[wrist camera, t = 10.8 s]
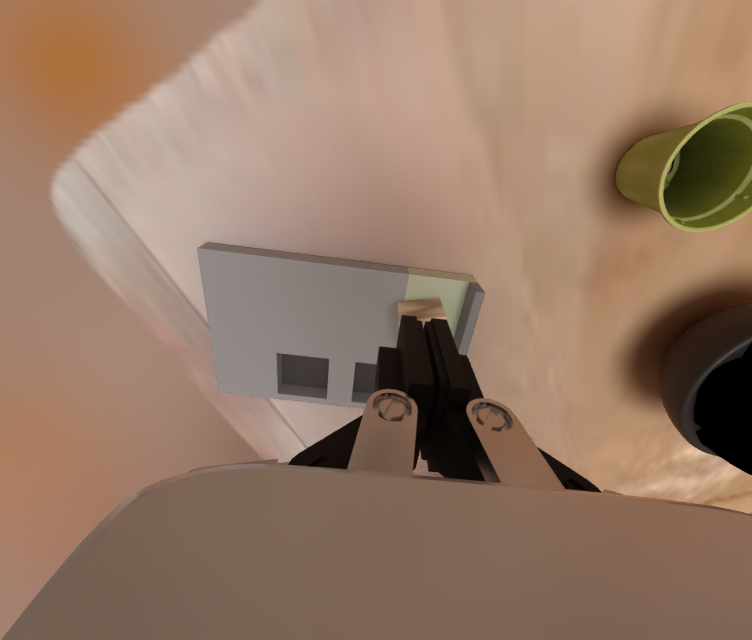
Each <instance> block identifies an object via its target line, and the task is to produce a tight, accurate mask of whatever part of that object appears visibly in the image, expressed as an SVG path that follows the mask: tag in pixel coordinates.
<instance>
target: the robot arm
mask: <svg viewBox="0 0 752 640" xmlns="http://www.w3.org/2000/svg"><path fill="white" fill-rule="evenodd" d="M420 450H421V458H422V460H427V464H428V471H429V472H439V473H440V474H441V475H442V476H444V478H441V477H430V476H418V475H412V474H413V470H414V469H415V468H416V464H417V460H418V456H419V452H420ZM1 640H752V515H750V514H747V513H743V512H740V511H735V510H730V509H725V508H720V507H715V506H709V505H702V504H695V503H687V502H680V501H673V500H665V499H656V498H646V497H637V496H628V495H623V494H620V493H616V492H613V491H609V490H606V489H604V491H603V492H601V491H600V490H599V489H598V488H597V487H596V486H595V485H593V484H592V483H591V482H590V481H588V480H587V479H585V478H584V477H582V476H581V475H579V474H578V473H576V472H575V471H573V470H572V469H570V468H568V467H567V466H565V465H564V464H562V463H561V462H559V461H558V460H556V459H555V458H553V457H552V456H550V455H549V454H547V453H546V452H544V451H542V450H541V449H539V448H538V447H536V445H535V444H534V442H533V441H532V439H531V438H530V436H529V435H528V433H527V432H526V430H525V429H524V427H523V426H522V425H521V423H520V422H519V420H518V419H517V417H516V416H515V415H514V413H513V412H512V411H511V410H510V409H509V408H507V407H506V406H505V405H503V404H501V403H499V402H497V401H494V400H490V399H484V397H483V395H482V392H481V390H480V387H479V385H478V382H477V380H476V377H475V374H474V372H473V369H472V367H471V364H470V362H469V359H468V357H467V356H466V355H461V354H459V352H458V350H457V347H456V344H455V341H454V338H453V336H452V333H451V330H450V327H449V325H448V322H447V320H446V319H437V318H431V320H430V321H425V324H424V329H423V324H422V321H420V320H417V317H416V316H408V315H402V316H401V320H400V327H399V333H398V339H397V345H396V348H392V347H383V346H379V350H378V357H377V365H376V374H375V388H374V393H373V394H372V395H371V396H370V397H369V399H368V401H367V404H366V407H365V410H364V414H363V415H362V416H360V417H358V418H357V419H355V420H353V421H352V422H350V423H348V424H347V425H345V426H343V427H342V428H340V429H338V430H337V431H335V432H334V433H332V434H330V435H329V436H327V437H325V438H324V439H322V440H320V441H319V442H317V443H315V444H314V445H312V446H310V447H309V448H307V449H305V450H304V451H302V452H300V453H299V454H297V455H296V456H295V457H294V458H292V460H291V461H290V462H285V463H278V459H272V460H263V461H254V462H245V463H236V464H227V465H219V466H210V467H202V468H198V469H194V470H191V471H189V472H187V473H183V474H179V475H176V476H172V477H169V478H166V479H164V480H161V481H159V482H156V483H154V484H151V485H149V486H147V487H145V488H143V489H141V490H140V491H138V492H136V493H135V494H133V495H132V496H130V497H129V498H127V499H126V500H125V501H123V502H122V503H121V504H119V505H118V506H117V507H116V508H115V509H114V510H113V511H112V512H110V513H109V514H108V515H107V516H106V517H105V518H104V519H103V520H102V521H101V522H100V523H99V524H98V525H97V526H96V527H95V528H94V529H93V530H92V532H90V533H89V534H88V536H87V537H86V538H85V539H84V540H83V541H82V542H81V543H80V544H79V546H78V547H77V548H76V549H75V550H74V551H73V552H72V554H71V555H70V556H69V557H68V558H67V559H66V560H65V562H64V563H63V564H62V565H61V566H60V568H59V569H58V570H57V571H56V572H55V574H54V575H53V576H52V577H51V579H49V581H48V582H47V583H46V584H45V586H44V587H43V588H42V589H41V590H40V592H39V593H38V594H37V595H36V597H35V598H34V599H33V600H32V602H31V603H30V604H29V605H28V606H27V608H26V609H25V610H24V611H23V613H22V614H21V615H20V617H19V618H18V619H17V620H16V622H15V623H14V624H13V626H12V627H11V628H10V629H9V631H8V632H7V633H6V634H5V636H4V637H3V638H2V639H1Z"/></svg>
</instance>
